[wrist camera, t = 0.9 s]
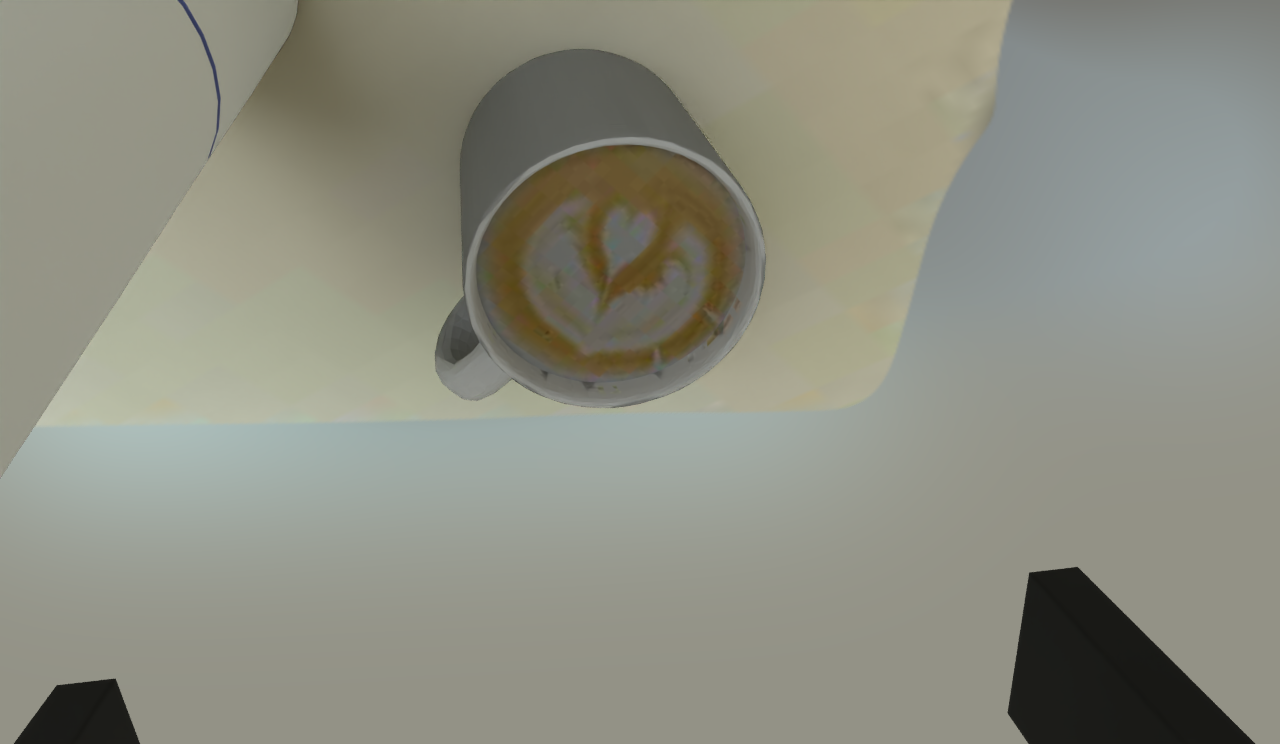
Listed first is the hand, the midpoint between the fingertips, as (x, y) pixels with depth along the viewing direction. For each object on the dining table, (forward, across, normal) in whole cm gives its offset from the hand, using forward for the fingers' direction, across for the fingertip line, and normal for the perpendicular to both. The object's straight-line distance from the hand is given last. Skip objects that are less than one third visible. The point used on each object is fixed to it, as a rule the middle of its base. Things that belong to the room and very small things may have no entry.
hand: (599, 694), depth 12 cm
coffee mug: (+26, 0, +3) cm, 27 cm away
